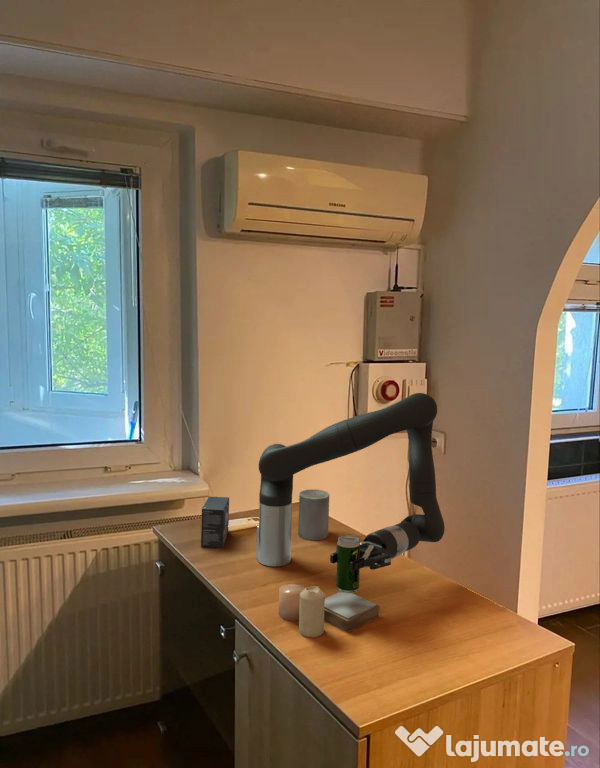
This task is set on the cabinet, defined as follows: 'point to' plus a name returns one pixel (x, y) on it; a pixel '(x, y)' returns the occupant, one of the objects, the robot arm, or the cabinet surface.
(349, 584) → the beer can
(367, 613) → the podium
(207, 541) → the small box
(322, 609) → the candle
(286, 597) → the peach rounded cylinder
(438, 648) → the cabinet surface
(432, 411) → the robot arm
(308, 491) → the pillar candle
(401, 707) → the cabinet surface
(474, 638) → the cabinet surface
